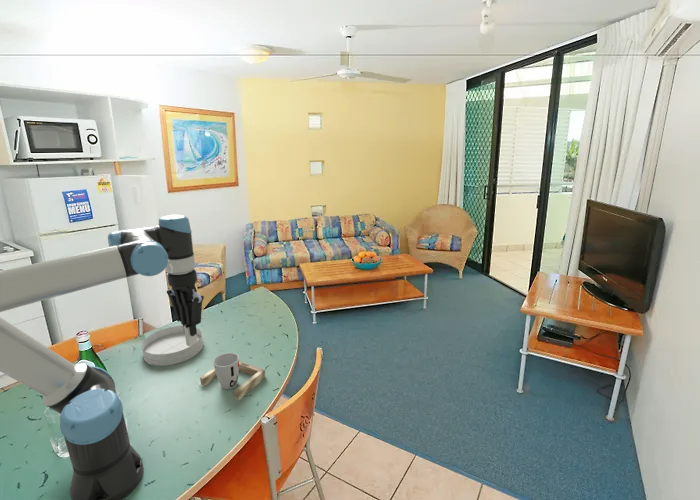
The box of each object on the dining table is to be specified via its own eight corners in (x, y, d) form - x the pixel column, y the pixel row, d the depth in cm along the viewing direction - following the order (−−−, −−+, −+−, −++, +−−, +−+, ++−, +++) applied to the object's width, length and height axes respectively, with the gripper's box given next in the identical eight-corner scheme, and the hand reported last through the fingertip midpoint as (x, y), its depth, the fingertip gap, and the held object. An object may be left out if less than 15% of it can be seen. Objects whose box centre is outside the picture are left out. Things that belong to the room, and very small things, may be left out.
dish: (166, 373, 134) (164, 361, 133) (131, 355, 145) (128, 344, 143) (215, 344, 152) (214, 333, 151) (180, 330, 163) (179, 320, 161)
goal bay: (238, 400, 120) (237, 392, 119) (201, 385, 127) (200, 377, 126) (265, 377, 131) (264, 369, 130) (229, 364, 139) (228, 357, 138)
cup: (233, 394, 123) (230, 368, 120) (211, 390, 124) (208, 364, 122) (245, 379, 130) (243, 354, 127) (224, 375, 132) (222, 351, 129)
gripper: (208, 269, 104) (217, 343, 111) (177, 262, 110) (187, 332, 117) (186, 278, 98) (197, 355, 105) (154, 270, 104) (166, 344, 111)
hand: (192, 343), depth 111 cm, fingers closed
